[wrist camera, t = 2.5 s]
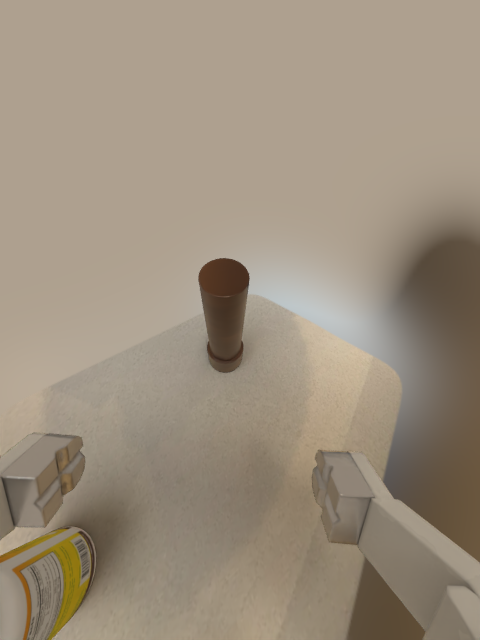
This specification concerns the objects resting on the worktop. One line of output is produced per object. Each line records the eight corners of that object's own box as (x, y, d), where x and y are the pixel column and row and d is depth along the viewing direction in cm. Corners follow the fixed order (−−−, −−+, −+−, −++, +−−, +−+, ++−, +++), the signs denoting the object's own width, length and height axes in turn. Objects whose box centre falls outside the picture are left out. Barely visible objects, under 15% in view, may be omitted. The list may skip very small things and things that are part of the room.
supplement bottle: (-1, 607, 16) (-283, 801, 7) (57, 511, 19) (-96, 567, 10) (64, 647, 15) (-159, 919, 6) (115, 542, 18) (6, 631, 9)
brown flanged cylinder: (207, 371, 25) (188, 299, 13) (211, 340, 27) (198, 252, 15) (241, 373, 25) (253, 303, 13) (242, 342, 27) (254, 256, 15)
